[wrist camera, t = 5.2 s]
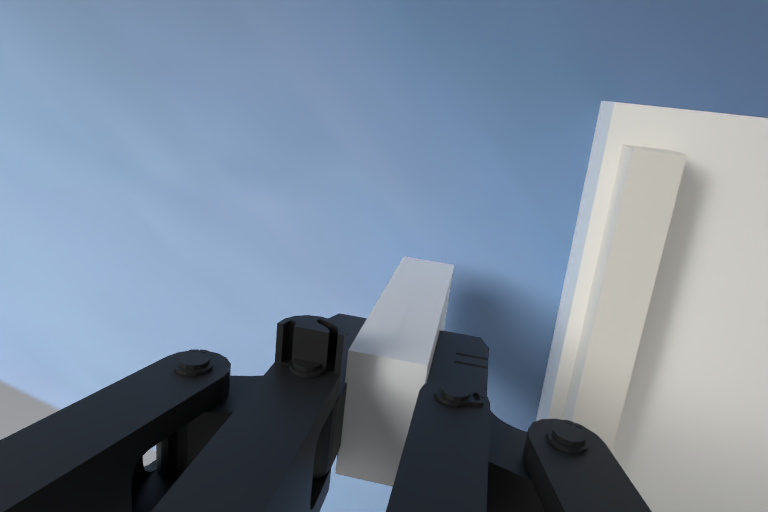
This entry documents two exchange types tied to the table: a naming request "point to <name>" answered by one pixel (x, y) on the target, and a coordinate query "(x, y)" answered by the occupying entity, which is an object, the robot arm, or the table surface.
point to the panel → (671, 307)
